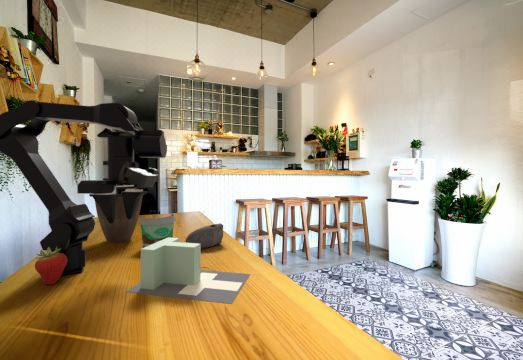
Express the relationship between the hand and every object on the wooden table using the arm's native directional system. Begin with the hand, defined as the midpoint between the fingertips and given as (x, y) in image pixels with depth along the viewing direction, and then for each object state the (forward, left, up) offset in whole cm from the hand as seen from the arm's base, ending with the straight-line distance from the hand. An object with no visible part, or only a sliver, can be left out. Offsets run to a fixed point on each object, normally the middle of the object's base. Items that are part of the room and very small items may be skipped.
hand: (120, 221), depth 61 cm
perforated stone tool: (+25, +8, -12) cm, 29 cm away
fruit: (-13, -1, -12) cm, 18 cm away
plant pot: (+2, +32, -12) cm, 34 cm away
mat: (+12, -17, -12) cm, 24 cm away
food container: (+13, +16, -12) cm, 24 cm away
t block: (+9, -15, -12) cm, 21 cm away
